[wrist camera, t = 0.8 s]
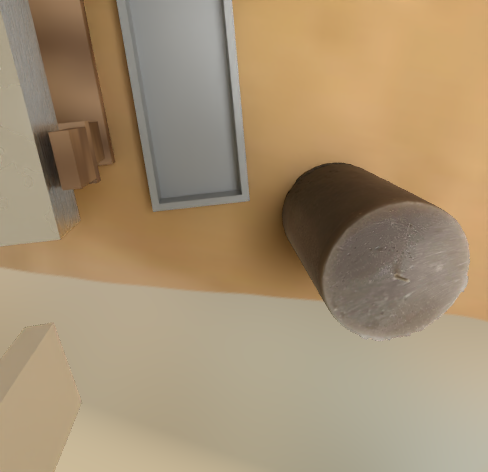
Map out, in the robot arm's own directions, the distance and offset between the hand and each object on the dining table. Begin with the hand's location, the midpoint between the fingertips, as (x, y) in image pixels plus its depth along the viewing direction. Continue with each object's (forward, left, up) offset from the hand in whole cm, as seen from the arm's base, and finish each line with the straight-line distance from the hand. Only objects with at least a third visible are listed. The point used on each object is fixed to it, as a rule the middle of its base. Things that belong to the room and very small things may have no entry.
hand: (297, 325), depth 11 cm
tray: (-12, -3, -26) cm, 28 cm away
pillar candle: (+5, +9, -26) cm, 28 cm away
